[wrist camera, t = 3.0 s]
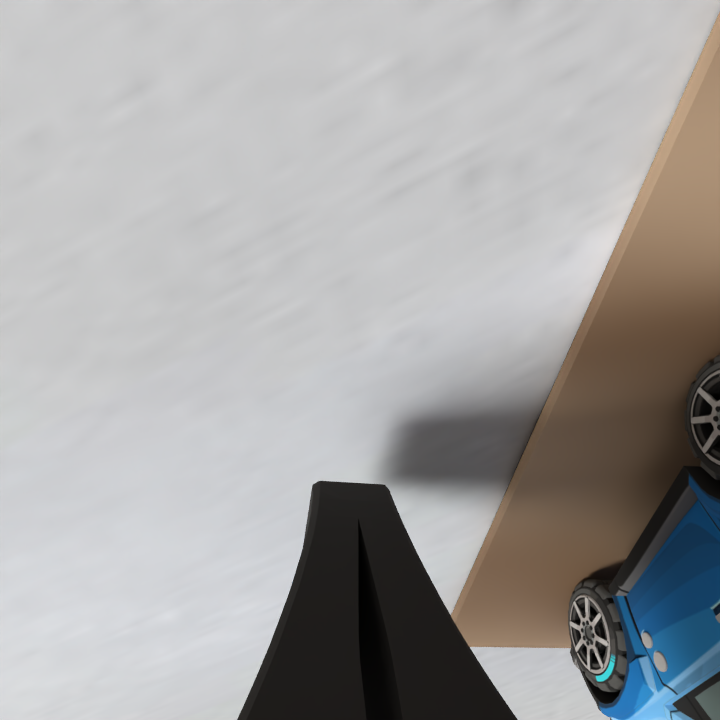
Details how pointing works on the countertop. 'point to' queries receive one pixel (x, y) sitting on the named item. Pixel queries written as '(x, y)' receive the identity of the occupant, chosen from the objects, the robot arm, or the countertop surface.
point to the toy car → (663, 594)
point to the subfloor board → (613, 396)
